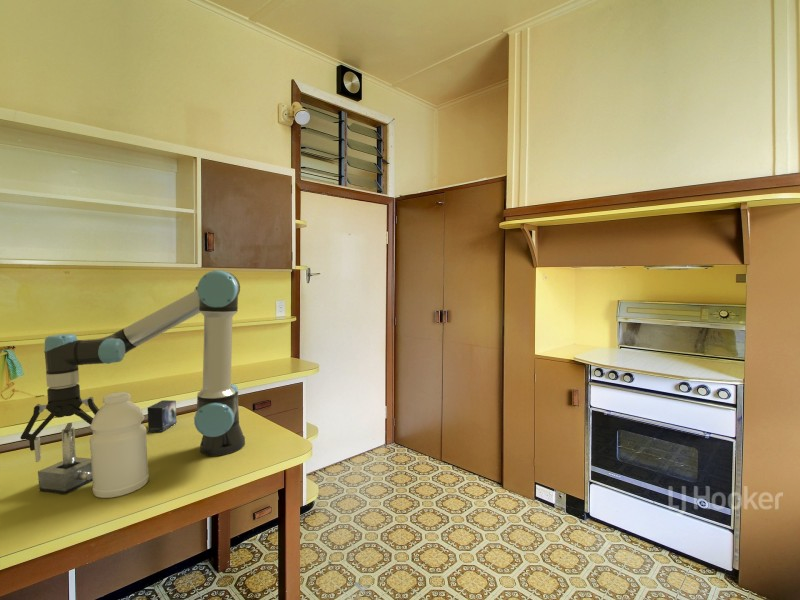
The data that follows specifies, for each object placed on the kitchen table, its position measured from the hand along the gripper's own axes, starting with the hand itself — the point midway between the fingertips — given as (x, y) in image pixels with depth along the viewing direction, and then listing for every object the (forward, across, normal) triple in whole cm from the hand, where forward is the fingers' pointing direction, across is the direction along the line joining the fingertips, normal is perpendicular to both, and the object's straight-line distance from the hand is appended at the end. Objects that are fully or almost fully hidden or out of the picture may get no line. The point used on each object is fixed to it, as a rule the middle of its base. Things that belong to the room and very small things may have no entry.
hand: (67, 454), depth 123 cm
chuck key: (+8, 0, 0) cm, 8 cm away
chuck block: (+9, -1, +1) cm, 9 cm away
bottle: (+9, -14, +11) cm, 20 cm away
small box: (+10, -26, -40) cm, 48 cm away
